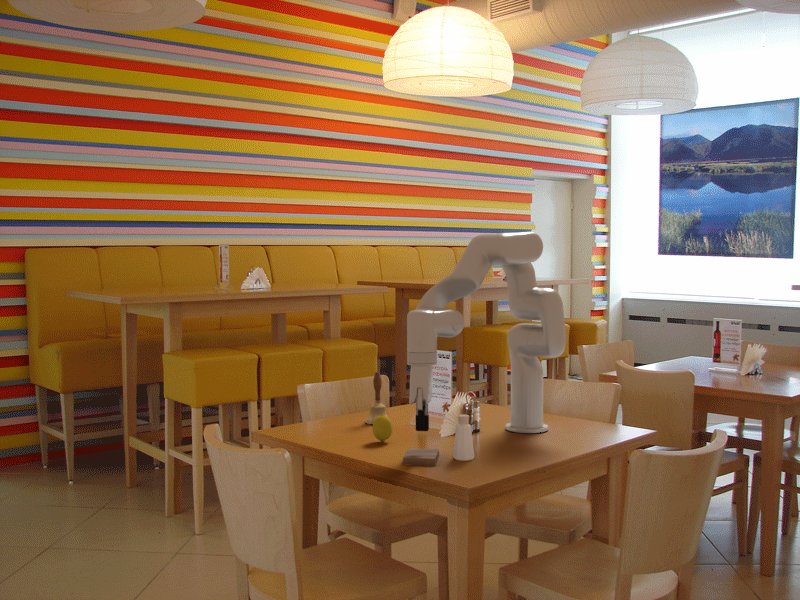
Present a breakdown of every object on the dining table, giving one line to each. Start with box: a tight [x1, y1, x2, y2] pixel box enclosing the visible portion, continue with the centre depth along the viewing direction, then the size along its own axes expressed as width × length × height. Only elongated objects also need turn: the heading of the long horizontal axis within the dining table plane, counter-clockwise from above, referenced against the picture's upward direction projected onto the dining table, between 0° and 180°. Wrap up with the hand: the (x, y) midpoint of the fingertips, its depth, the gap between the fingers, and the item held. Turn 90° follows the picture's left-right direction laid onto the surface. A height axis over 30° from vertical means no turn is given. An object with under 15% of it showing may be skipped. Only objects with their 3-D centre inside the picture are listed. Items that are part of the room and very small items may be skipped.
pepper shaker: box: [452, 413, 475, 462], centre depth 194 cm, size 5×5×11 cm
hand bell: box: [364, 371, 389, 425], centre depth 240 cm, size 8×8×16 cm
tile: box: [402, 448, 440, 467], centre depth 193 cm, size 2×8×10 cm
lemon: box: [372, 414, 393, 443], centre depth 212 cm, size 6×6×8 cm
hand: (422, 430), depth 195 cm, fingers closed
